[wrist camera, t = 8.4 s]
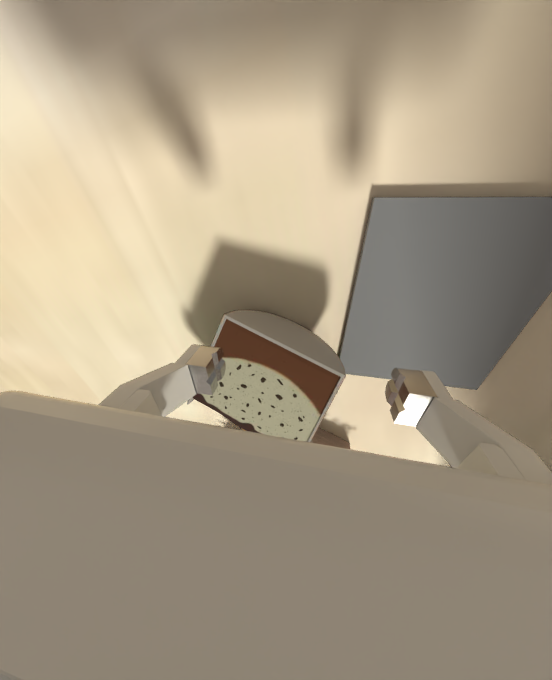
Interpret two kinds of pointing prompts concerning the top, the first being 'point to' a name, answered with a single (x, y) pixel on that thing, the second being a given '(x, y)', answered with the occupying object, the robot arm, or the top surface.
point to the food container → (273, 375)
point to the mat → (447, 285)
